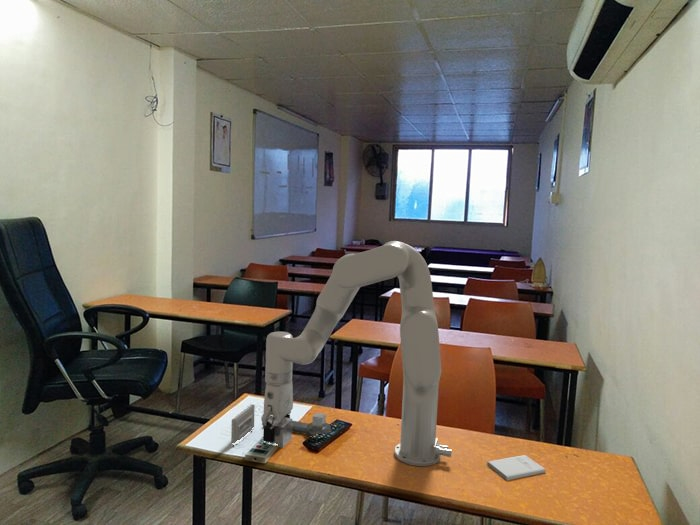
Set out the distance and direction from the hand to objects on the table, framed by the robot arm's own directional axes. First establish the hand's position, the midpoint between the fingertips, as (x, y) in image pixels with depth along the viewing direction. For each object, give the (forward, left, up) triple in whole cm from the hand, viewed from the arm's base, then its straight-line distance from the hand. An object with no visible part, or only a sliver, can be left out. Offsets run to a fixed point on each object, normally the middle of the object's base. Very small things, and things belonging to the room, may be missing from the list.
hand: (276, 433), depth 141 cm
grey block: (0, 0, -2) cm, 2 cm away
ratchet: (-3, -9, -2) cm, 10 cm away
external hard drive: (-65, -10, -3) cm, 66 cm away
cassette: (+10, +1, -2) cm, 10 cm away
